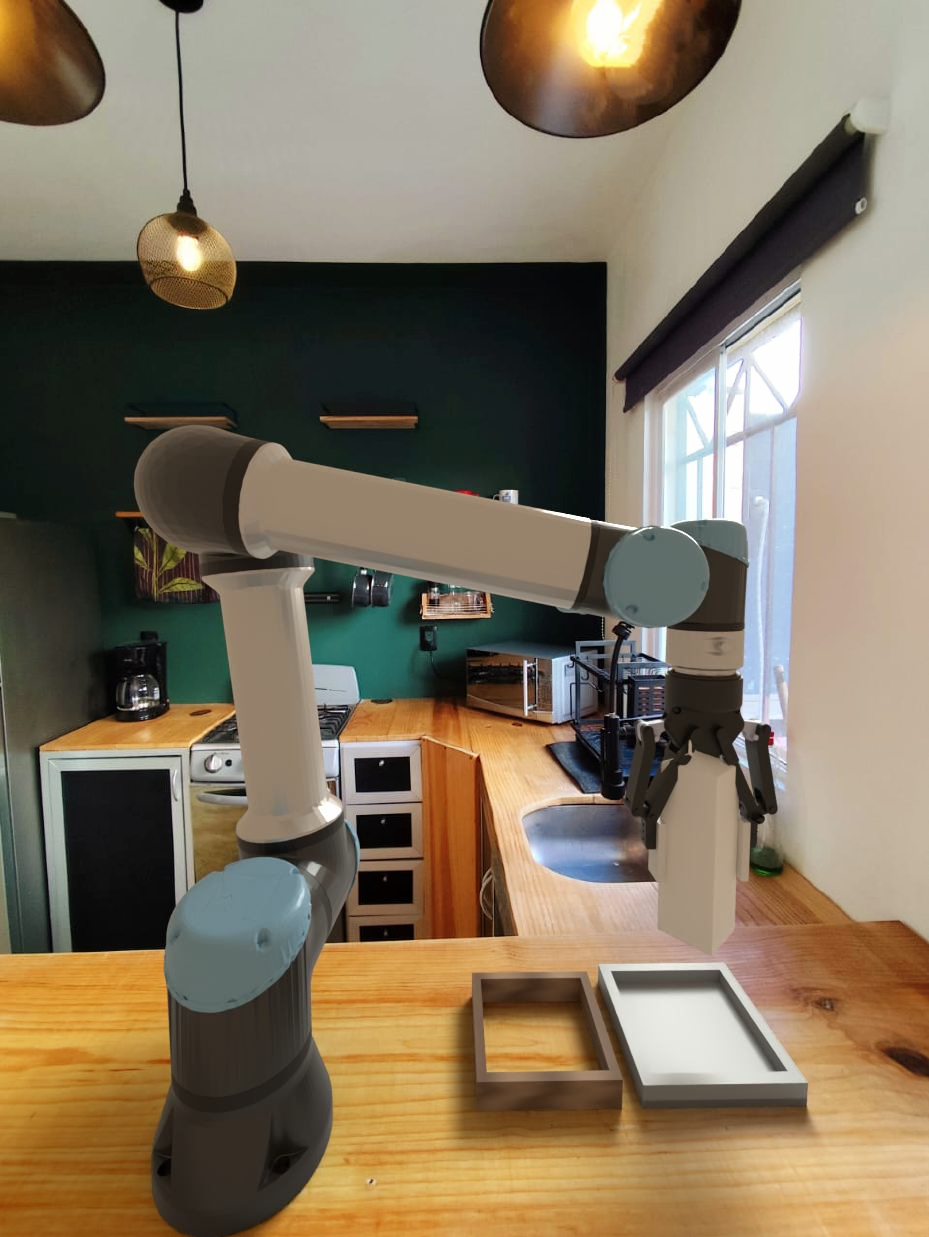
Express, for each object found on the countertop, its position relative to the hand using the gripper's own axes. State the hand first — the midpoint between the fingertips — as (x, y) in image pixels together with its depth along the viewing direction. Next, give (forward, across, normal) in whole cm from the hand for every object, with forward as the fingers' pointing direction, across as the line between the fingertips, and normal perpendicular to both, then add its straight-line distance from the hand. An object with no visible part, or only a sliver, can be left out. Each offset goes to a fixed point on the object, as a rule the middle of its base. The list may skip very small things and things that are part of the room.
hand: (697, 874), depth 58 cm
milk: (+7, 0, 0) cm, 7 cm away
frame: (+19, -17, -1) cm, 25 cm away
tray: (+19, 0, 0) cm, 19 cm away
